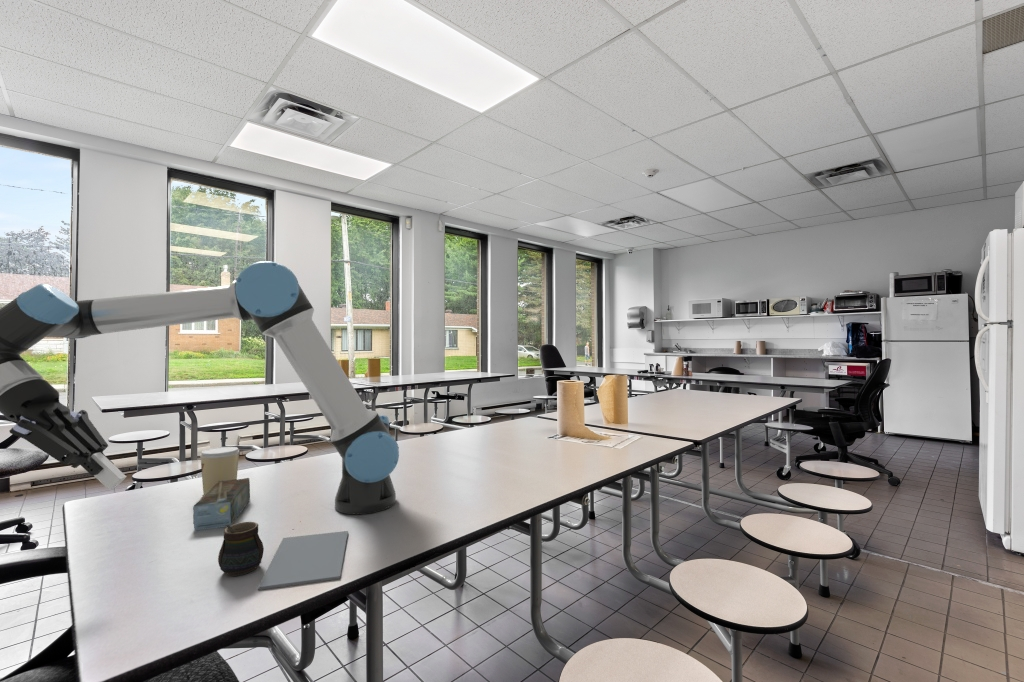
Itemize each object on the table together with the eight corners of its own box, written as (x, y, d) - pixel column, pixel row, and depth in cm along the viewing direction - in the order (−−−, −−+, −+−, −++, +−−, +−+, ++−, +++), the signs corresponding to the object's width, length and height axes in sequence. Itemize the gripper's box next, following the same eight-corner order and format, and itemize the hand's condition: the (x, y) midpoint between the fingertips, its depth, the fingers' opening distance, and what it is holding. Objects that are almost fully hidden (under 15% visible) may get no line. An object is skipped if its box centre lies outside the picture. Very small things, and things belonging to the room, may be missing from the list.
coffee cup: (212, 487, 132) (212, 446, 133) (245, 486, 133) (245, 446, 133) (192, 498, 123) (192, 454, 123) (228, 497, 124) (228, 453, 124)
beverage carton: (191, 532, 102) (191, 502, 102) (217, 503, 120) (217, 478, 120) (231, 527, 104) (231, 498, 104) (251, 500, 122) (251, 476, 122)
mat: (347, 533, 100) (347, 530, 100) (339, 578, 80) (339, 576, 80) (283, 540, 96) (283, 537, 96) (258, 590, 77) (258, 587, 77)
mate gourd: (270, 559, 88) (270, 508, 88) (253, 580, 80) (253, 523, 80) (230, 562, 87) (230, 509, 87) (209, 582, 79) (209, 525, 80)
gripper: (39, 402, 87) (129, 487, 88) (-38, 412, 74) (69, 511, 75) (68, 374, 88) (158, 459, 89) (-3, 379, 75) (104, 478, 76)
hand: (117, 483), depth 82 cm, fingers closed
